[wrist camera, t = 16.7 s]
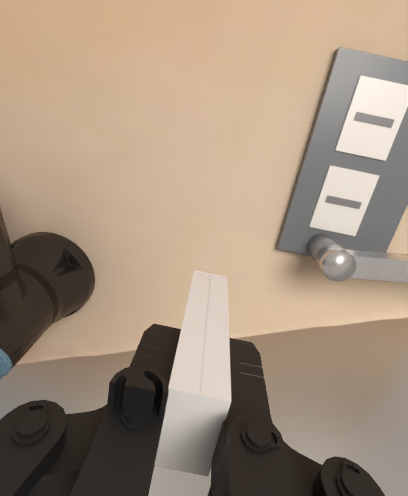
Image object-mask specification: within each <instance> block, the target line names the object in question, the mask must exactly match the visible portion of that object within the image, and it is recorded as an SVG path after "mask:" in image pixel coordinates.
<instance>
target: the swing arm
mask: <svg viewBox="0 0 408 496" xmlns="http://www.w3.org/2000/svg"><path fill="white" fill-rule="evenodd" d="M317 264H318V266H319V267H320V269H321V270H322V271H323V273H324V274H325V275H326V277H327V278H329V279H330V280H332V281H344V280H347V279H348V278H356V279H368V280H380V281H392V282H404V283H408V254H396V253H383V252H371V251H358V250H346V249H344V248H343V247H342V246H340V245H336V244H331V245H327V246H325V247H324V248H322V249H321V250H320V251H319V253H318V255H317Z"/></svg>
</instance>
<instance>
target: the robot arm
mask: <svg viewBox="0 0 408 496" xmlns="http://www.w3.org/2000/svg"><path fill="white" fill-rule="evenodd" d="M94 284H95V276H94V271H93V268H92V265H91V263H90V261H89V259H88V257H87V256H86V255H85V253H84V252H83V251H82V250H81V249H80V248H79V247H78V246H77V245H76V244H74V243H73V242H72V241H70V240H68V239H67V238H65V237H63V236H60V235H57V234H53V233H48V232H37V233H32V234H29V235H26V236H24V237H22V238H20V239H18V240H16V241H15V242H13V243H12V244H11V243H10V240H9V236H8V233H7V229H6V226H5V222H4V219H3V215H2V212H1V208H0V379H1V378H2V377H3V376H5V375H7V374H8V373H9V372H10V370H11V369H12V368H13V367H14V366H15V364H16V363H17V362H18V361H19V360H20V359H21V358H22V357H23V356H24V354H25V353H26V352H27V351H28V350H29V349H30V348H31V347H32V345H33V344H34V343H35V342H36V341H37V340H38V339H39V338H40V337H41V335H42V334H43V333H44V332H45V331H46V330H47V329H48V328H49V327H50V326H51V324H52V323H55V322H57V321H58V320H60V319H61V318H64V317H67V316H69V315H72V314H73V313H75V312H77V311H78V310H79V309H80V308H81V307H82V306H83V305H84V304H85V303H86V302H87V301H88V299H89V298H90V296H91V295H92V292H93V289H94ZM263 376H264V375H263V369H262V363H261V357H260V353H259V352H258V351H257V349H256V347H255V346H254V344H253V343H252V342H247V341H242V340H237V339H232V338H229V312H228V281H227V277H226V276H221V275H216V274H211V273H207V272H202V271H197V270H194V274H193V278H192V283H191V287H190V292H189V296H188V301H187V305H186V310H185V314H184V319H183V323H182V328H181V329H177V328H172V327H167V326H162V325H158V324H153V325H152V326H150V327H149V328H148V329H147V330H146V331H144V333H143V336H142V338H141V341H140V344H139V345H138V348H137V350H136V354H135V355H134V358H133V360H132V362H131V365H130V367H128V368H124V369H123V370H121V371H120V372H118V373H116V374H115V376H114V377H113V378H112V380H111V381H110V384H109V394H108V403H107V405H106V406H104V407H102V408H100V409H97V410H94V411H90V412H84V413H74V414H65V412H64V409H63V408H62V407H60V406H59V405H58V404H57V403H55V402H51V401H47V400H39V401H31V402H28V403H26V404H23V405H20V406H18V407H17V408H15V409H14V410H12V411H11V412H9V413H8V414H7V415H5V416H4V417H3V418H2V419H1V420H0V496H148V494H149V489H150V484H151V479H152V474H153V470H154V466H158V467H164V468H168V469H174V470H179V471H184V472H189V473H194V474H199V475H204V476H208V475H209V472H210V469H211V486H210V490H209V493H208V496H385V495H384V493H383V492H382V490H381V489H380V487H379V486H378V485H377V483H376V482H375V481H374V480H373V478H372V477H371V476H370V475H369V474H368V473H367V472H366V471H365V470H364V469H362V468H361V467H360V466H359V465H358V464H356V463H354V462H352V461H350V460H348V459H346V458H341V457H332V458H329V459H326V461H325V462H324V464H323V465H321V464H319V463H317V462H315V461H313V460H311V459H309V458H307V457H305V456H304V455H302V454H300V453H298V452H297V451H295V450H293V449H292V448H291V447H289V446H288V445H287V444H286V443H285V442H284V441H283V439H282V436H281V433H280V432H279V431H278V430H277V428H276V427H275V426H274V424H273V423H272V420H271V415H270V409H269V404H268V398H267V392H266V386H265V380H264V379H263ZM211 466H212V468H211Z"/></svg>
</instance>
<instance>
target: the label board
mask: <svg viewBox="0 0 408 496" xmlns="http://www.w3.org/2000/svg"><path fill="white" fill-rule="evenodd" d="M407 205H408V61H403V60H399V59H394V58H389V57H384V56H380V55H375V54H370V53H366V52H361V51H356V50H352V49H347V48H342V47H339V48H338V49H336V52H335V55H334V58H333V61H332V65H331V68H330V71H329V75H328V78H327V81H326V84H325V88H324V91H323V94H322V98H321V101H320V104H319V107H318V111H317V114H316V117H315V121H314V124H313V127H312V130H311V134H310V137H309V140H308V144H307V147H306V150H305V153H304V157H303V160H302V163H301V167H300V170H299V173H298V176H297V180H296V183H295V186H294V190H293V193H292V196H291V199H290V203H289V206H288V209H287V213H286V216H285V219H284V222H283V226H282V229H281V232H280V236H279V239H278V242H277V245H276V247H277V249H280V250H284V251H289V252H294V253H299V254H304V255H309V256H313V257H314V258H315V260H316V261H317V255H318V253H319V251H320V250H321V249H322V248H324V247H325V246H327V245H331V244H336V245H340V246H342V247H343V248H344V249H346V250H358V251H371V252H383V253H386V251H387V249H388V247H389V244H390V242H391V240H392V238H393V236H394V233H395V231H396V229H397V227H398V225H399V222H400V220H401V218H402V216H403V214H404V211H405V209H406V207H407Z"/></svg>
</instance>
